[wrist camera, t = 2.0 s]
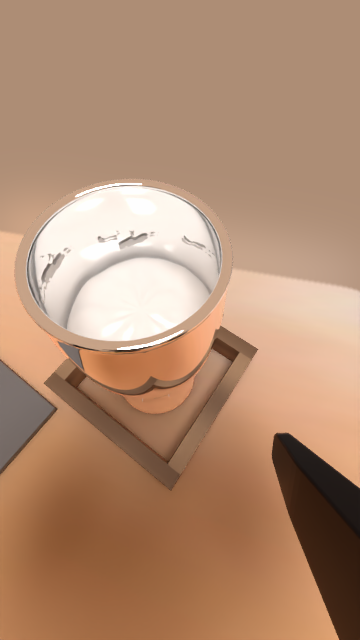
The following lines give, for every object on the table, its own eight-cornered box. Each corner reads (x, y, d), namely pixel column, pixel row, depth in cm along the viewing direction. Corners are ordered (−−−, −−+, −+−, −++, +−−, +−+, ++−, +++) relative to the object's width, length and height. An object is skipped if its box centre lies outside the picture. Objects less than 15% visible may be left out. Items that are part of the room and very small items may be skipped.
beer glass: (99, 360, 22) (-22, 219, 9) (171, 321, 24) (166, 151, 10) (138, 439, 20) (55, 416, 6) (216, 389, 21) (289, 282, 8)
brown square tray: (171, 485, 18) (170, 490, 16) (57, 390, 21) (43, 383, 19) (249, 359, 22) (258, 349, 20) (145, 292, 25) (142, 277, 23)
